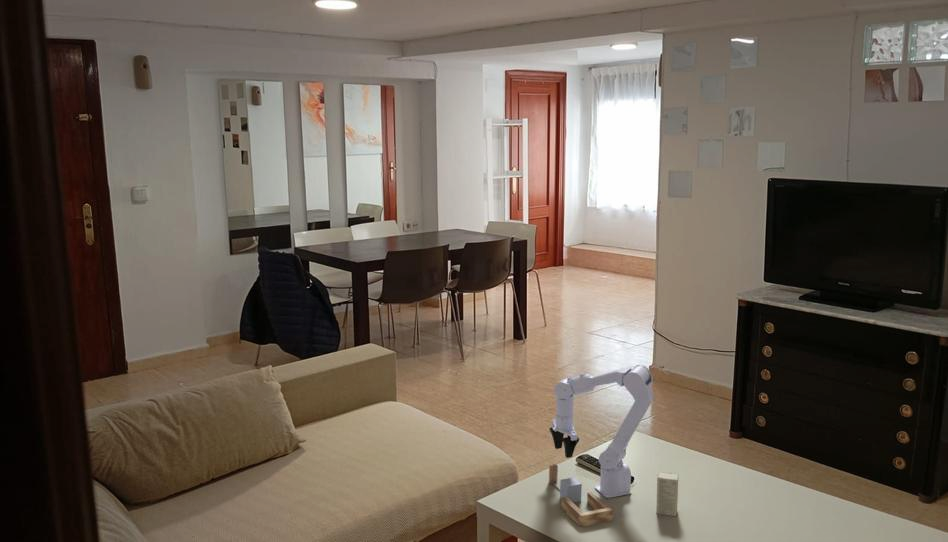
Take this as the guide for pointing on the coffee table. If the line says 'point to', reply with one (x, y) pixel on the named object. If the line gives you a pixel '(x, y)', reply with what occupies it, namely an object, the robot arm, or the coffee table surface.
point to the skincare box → (667, 493)
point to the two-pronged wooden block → (591, 517)
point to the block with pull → (565, 485)
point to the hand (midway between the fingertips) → (563, 452)
